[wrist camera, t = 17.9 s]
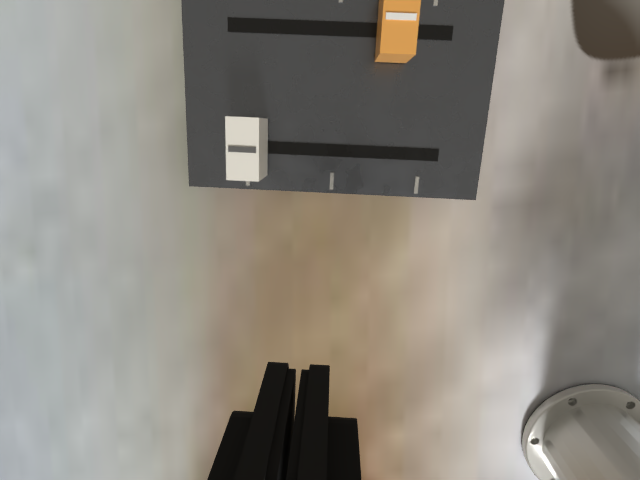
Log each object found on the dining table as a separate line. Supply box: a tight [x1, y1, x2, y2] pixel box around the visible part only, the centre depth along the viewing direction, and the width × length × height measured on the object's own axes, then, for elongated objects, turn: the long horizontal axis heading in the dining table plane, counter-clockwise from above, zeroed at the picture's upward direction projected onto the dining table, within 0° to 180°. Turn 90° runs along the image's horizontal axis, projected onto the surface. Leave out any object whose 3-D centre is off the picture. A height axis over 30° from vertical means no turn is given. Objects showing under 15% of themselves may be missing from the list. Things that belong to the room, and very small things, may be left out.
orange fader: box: [375, 0, 421, 63], centre depth 29 cm, size 2×4×4 cm, turn 178°
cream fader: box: [225, 116, 268, 182], centre depth 32 cm, size 2×4×4 cm, turn 178°
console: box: [182, 0, 504, 200], centre depth 34 cm, size 24×16×2 cm, turn 88°
